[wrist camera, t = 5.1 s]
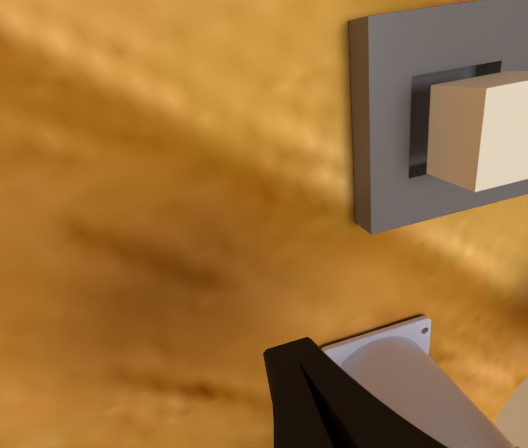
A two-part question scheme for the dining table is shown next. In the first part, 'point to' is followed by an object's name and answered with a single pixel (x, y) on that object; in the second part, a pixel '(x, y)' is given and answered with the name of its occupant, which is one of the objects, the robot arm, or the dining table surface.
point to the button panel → (421, 102)
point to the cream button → (479, 130)
